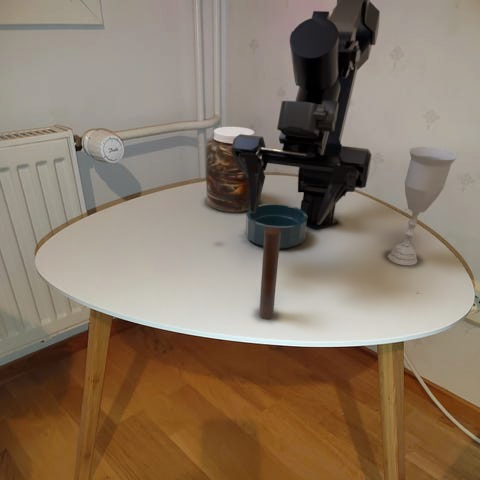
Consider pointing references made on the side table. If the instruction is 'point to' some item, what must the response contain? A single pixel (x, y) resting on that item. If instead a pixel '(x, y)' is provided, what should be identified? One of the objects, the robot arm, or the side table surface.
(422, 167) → the chalice
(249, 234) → the bowl
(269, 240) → the stick
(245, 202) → the jar
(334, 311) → the side table surface
